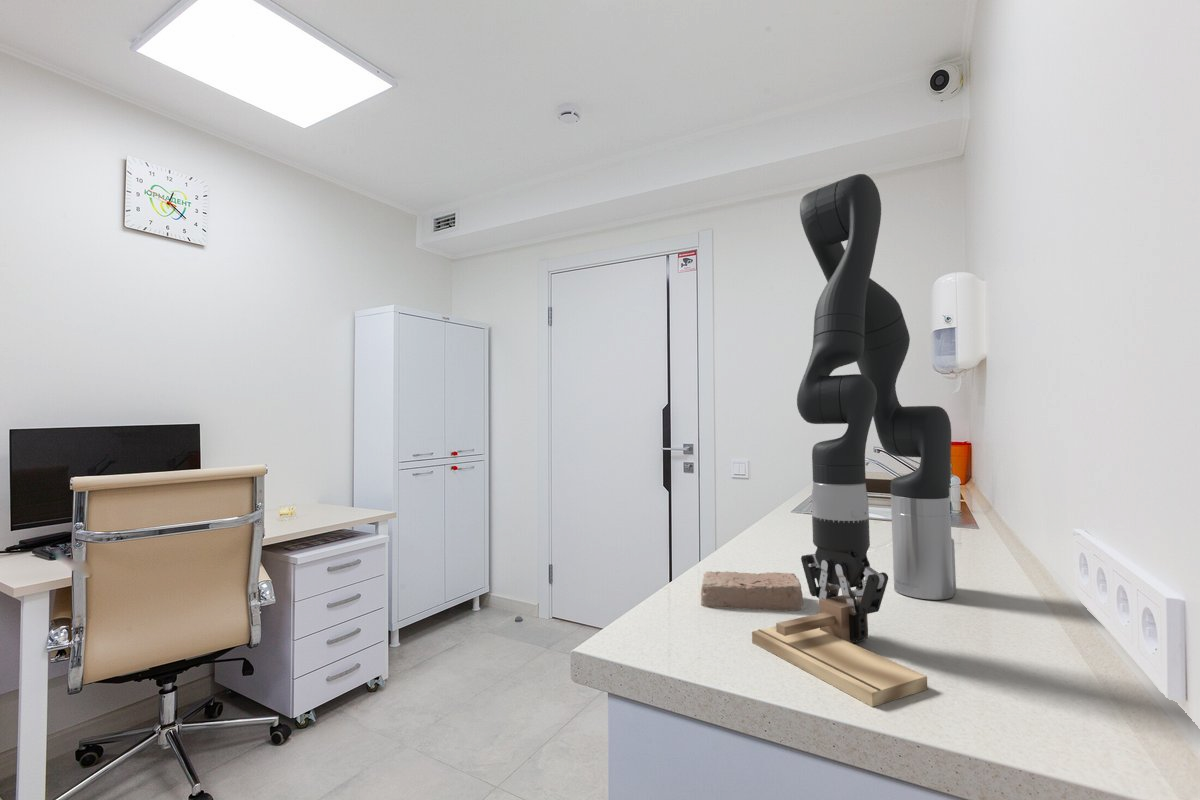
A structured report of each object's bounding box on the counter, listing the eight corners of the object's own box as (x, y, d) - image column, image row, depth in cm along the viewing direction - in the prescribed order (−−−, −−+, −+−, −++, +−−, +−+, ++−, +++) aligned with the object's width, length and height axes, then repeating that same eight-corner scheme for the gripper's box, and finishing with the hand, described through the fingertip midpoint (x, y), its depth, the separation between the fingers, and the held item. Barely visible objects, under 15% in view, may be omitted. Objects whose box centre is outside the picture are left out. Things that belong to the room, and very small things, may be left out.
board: (800, 631, 84) (800, 620, 84) (927, 689, 66) (927, 675, 66) (752, 642, 80) (751, 630, 80) (872, 706, 62) (871, 692, 62)
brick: (701, 608, 95) (700, 580, 96) (702, 593, 104) (702, 567, 104) (804, 614, 92) (803, 585, 92) (797, 598, 100) (796, 571, 100)
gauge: (850, 627, 84) (849, 593, 84) (873, 637, 80) (871, 601, 80) (770, 646, 78) (769, 609, 78) (791, 657, 74) (790, 619, 74)
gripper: (902, 519, 76) (907, 648, 76) (821, 505, 89) (824, 615, 89) (862, 524, 73) (867, 659, 73) (784, 509, 86) (787, 623, 85)
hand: (843, 634), depth 81 cm, fingers closed on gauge, 3 cm apart
